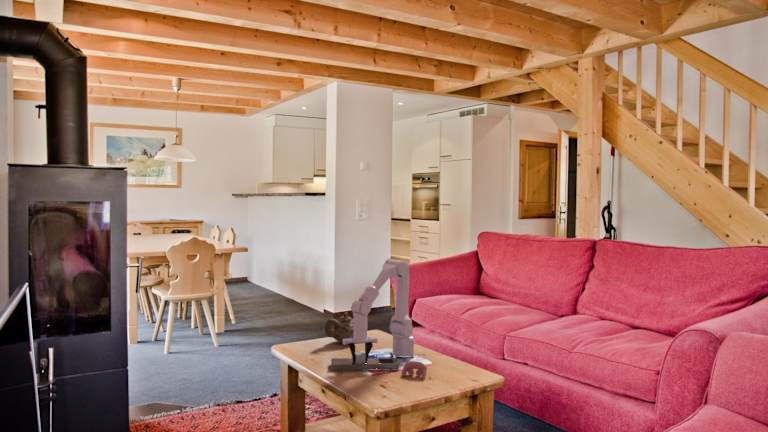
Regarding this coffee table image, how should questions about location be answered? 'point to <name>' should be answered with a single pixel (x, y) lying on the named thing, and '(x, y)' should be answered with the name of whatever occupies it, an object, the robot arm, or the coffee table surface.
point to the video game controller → (414, 365)
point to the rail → (372, 363)
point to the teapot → (340, 328)
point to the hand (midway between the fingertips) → (359, 360)
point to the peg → (359, 358)
